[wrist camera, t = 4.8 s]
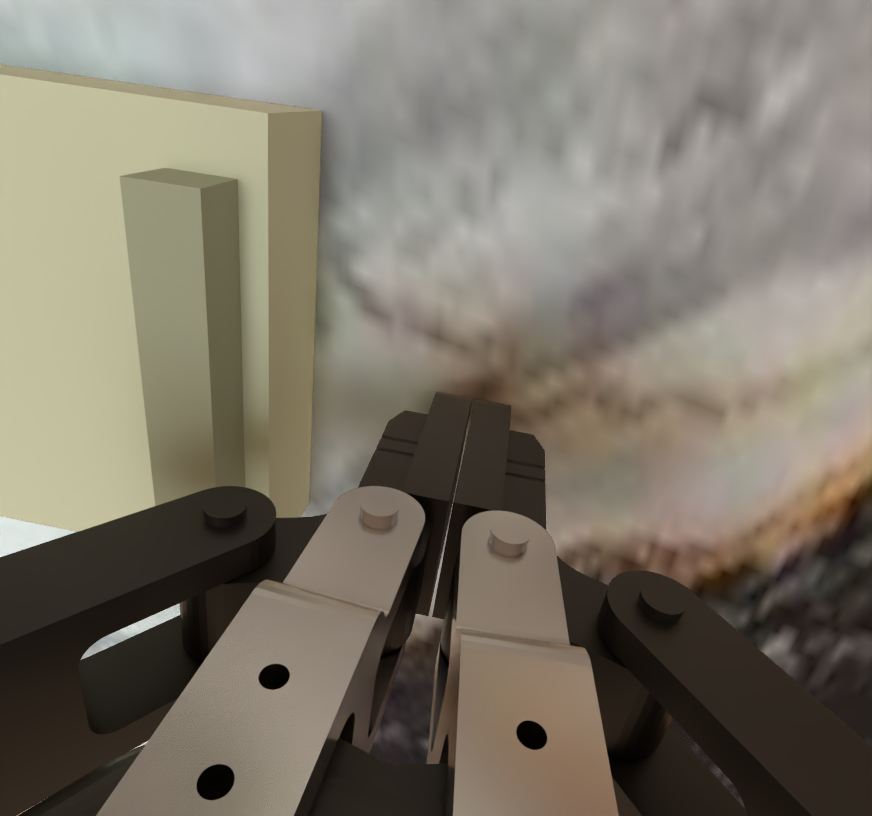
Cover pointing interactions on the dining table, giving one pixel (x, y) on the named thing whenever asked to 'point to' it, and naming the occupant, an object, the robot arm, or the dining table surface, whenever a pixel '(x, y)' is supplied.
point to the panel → (153, 297)
